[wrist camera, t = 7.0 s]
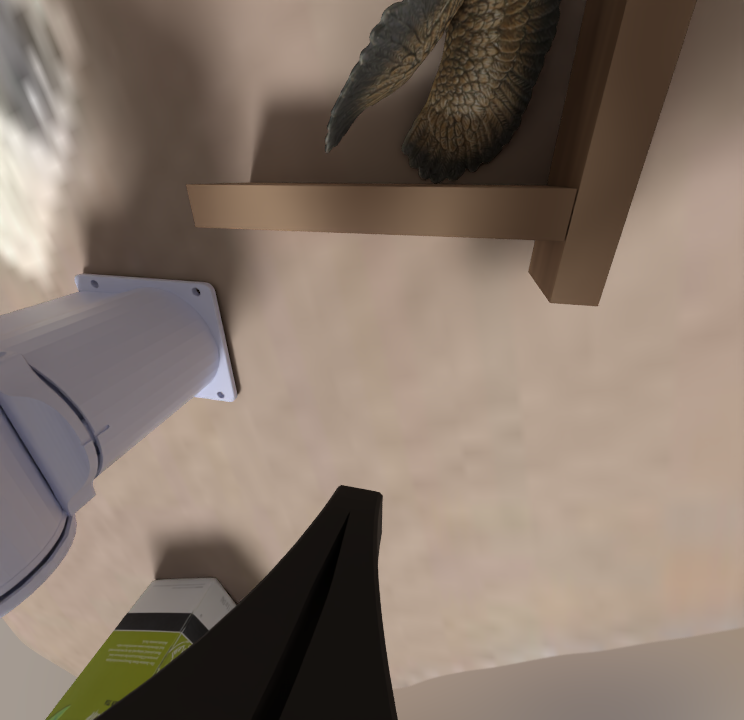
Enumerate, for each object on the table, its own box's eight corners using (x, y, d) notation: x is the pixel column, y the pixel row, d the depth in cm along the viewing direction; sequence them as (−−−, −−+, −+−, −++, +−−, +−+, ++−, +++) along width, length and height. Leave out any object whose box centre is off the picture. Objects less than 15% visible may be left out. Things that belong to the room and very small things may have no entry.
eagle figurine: (320, -179, 10) (295, 158, 13) (460, -744, 4) (356, 109, 7) (513, -54, 13) (458, 198, 16) (756, -280, 7) (598, 188, 10)
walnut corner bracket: (260, 257, 18) (206, 278, 15) (185, -260, 11) (34, -499, 7) (563, 273, 16) (597, 306, 12) (745, -414, 8) (1007, -959, 4)
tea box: (284, 654, 41) (205, 868, 28) (221, 649, 45) (126, 837, 32) (216, 574, 36) (81, 793, 23) (151, 576, 40) (3, 766, 27)
